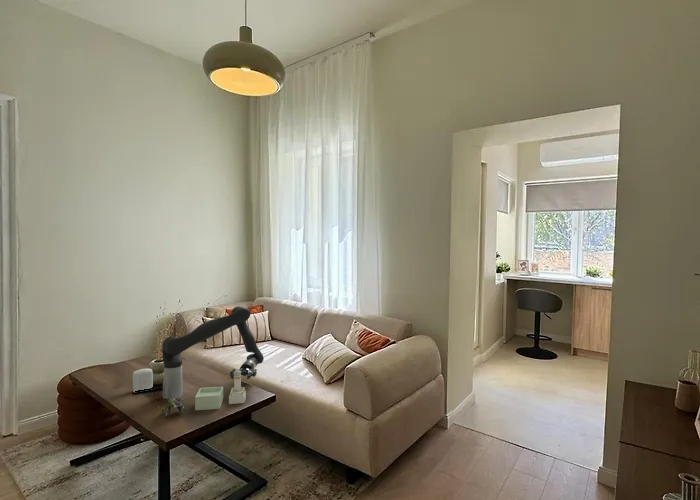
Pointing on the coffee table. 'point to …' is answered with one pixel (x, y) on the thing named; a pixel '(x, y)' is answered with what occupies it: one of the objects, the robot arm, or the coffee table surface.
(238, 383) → the fuse
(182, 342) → the robot arm
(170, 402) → the passion flower
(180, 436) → the coffee table surface
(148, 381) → the photo printer
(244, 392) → the fuse holder
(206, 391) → the tray
